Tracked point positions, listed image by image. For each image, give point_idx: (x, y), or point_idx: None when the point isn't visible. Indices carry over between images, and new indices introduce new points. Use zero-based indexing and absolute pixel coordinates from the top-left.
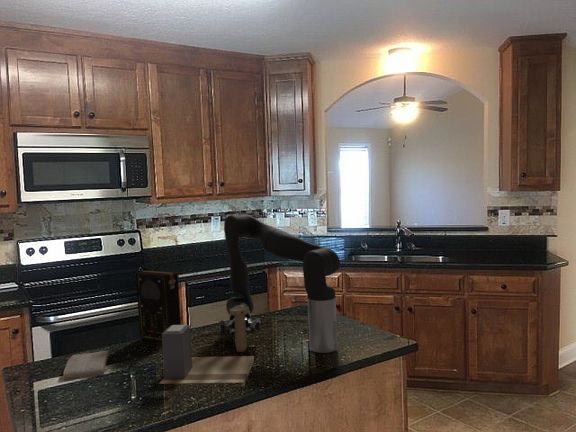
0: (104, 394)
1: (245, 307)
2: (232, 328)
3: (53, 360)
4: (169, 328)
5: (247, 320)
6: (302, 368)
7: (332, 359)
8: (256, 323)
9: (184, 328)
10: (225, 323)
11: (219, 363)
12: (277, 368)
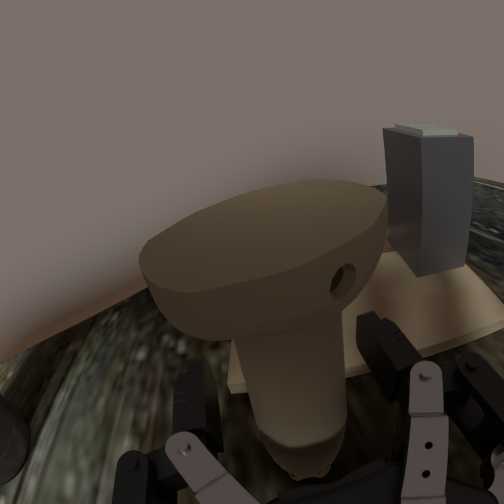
0: (476, 208)
1: (182, 257)
2: (397, 443)
3: None
4: (437, 125)
5: (237, 487)
6: (98, 337)
7: (23, 376)
8: (150, 461)
9: (409, 132)
10: (500, 465)
11: (349, 311)
12: (156, 336)
